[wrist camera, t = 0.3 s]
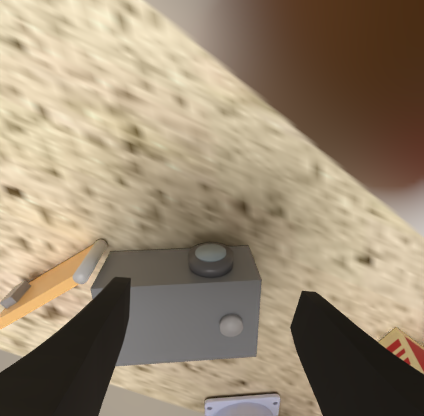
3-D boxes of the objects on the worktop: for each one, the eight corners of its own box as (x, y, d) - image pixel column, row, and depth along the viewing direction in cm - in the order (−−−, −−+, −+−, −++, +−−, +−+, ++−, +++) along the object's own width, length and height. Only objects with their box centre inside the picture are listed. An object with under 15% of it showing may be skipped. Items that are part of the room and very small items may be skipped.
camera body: (245, 312, 25) (257, 362, 20) (121, 320, 24) (104, 373, 19) (249, 233, 22) (264, 271, 17) (107, 240, 21) (82, 280, 16)
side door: (34, 290, 22) (0, 331, 18) (21, 278, 22) (-17, 318, 18) (109, 246, 21) (90, 279, 17) (97, 232, 20) (75, 263, 17)
